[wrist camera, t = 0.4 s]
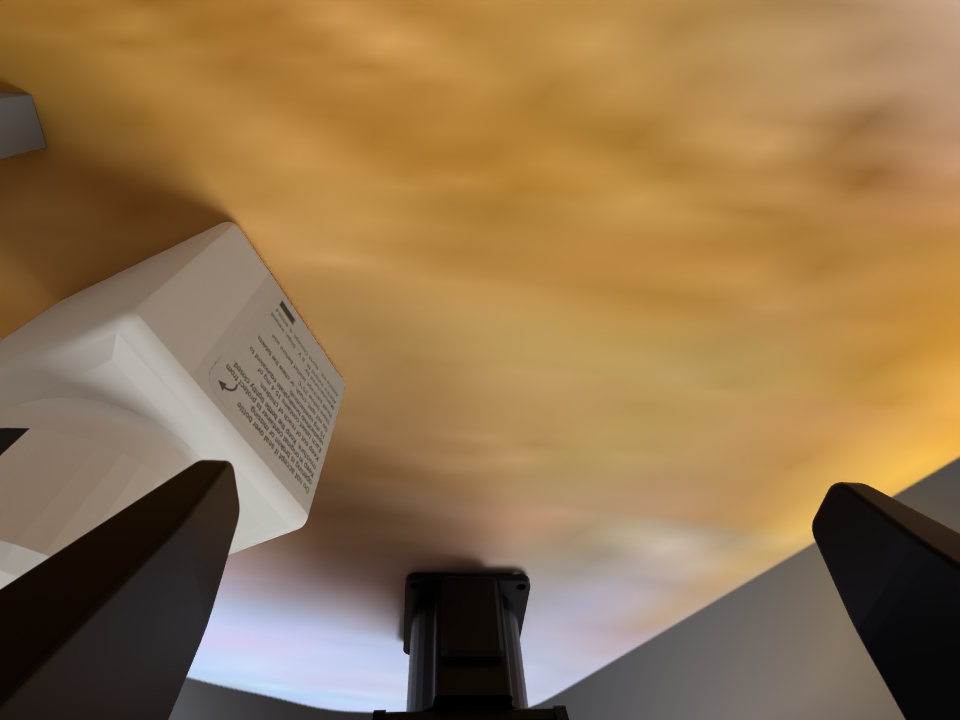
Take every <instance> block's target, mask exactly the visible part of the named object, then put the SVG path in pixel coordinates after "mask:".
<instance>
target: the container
mask: <svg viewBox="0 0 960 720" xmlns="http://www.w3.org/2000/svg"><path fill="white" fill-rule="evenodd" d="M344 391H345V384H344V381H343V380H342V378H341V377H340V375H339V374H338V372H337V371H336V369H335V368H334V366H333V365H332V363H331V362H330V360H329V359H328V357H327V356H326V355H325V353H324V352H323V350H322V349H321V347H320V346H319V344H318V343H317V341H316V340H315V338H314V337H313V335H312V334H311V332H310V331H309V329H308V328H307V326H306V325H305V324H304V322H303V321H302V319H301V318H300V316H299V315H298V313H297V312H296V310H295V309H294V307H293V306H292V304H291V303H290V301H289V300H288V298H287V297H286V295H285V294H284V292H283V291H282V290H281V288H280V287H279V285H278V284H277V282H276V281H275V279H274V278H273V276H272V275H271V273H270V272H269V270H268V269H267V267H266V266H265V264H264V263H263V261H262V260H261V259H260V257H259V256H258V254H257V253H256V251H255V250H254V248H253V247H252V245H251V244H250V242H249V241H248V239H247V238H246V236H245V235H244V233H243V232H242V230H241V229H240V228H239V227H238V226H237V225H236V224H235V223H232V222H224V223H220V224H218V225H216V226H214V227H212V228H210V229H208V230H206V231H204V232H202V233H200V234H198V235H196V236H194V237H192V238H189V239H187V240H185V241H183V242H181V243H179V244H177V245H175V246H173V247H171V248H169V249H167V250H165V251H163V252H161V253H158V254H156V255H154V256H152V257H150V258H148V259H146V260H144V261H142V262H140V263H138V264H136V265H134V266H132V267H130V268H127V269H125V270H123V271H121V272H119V273H117V274H115V275H113V276H111V277H109V278H107V279H105V280H103V281H101V282H98V283H96V284H94V285H92V286H90V287H88V288H86V289H84V290H82V291H80V292H78V293H76V294H74V295H72V296H70V297H67V298H65V299H63V300H61V301H59V302H58V303H56V304H55V305H53V306H52V307H50V308H49V309H47V310H46V311H44V312H43V313H41V314H40V315H38V316H37V317H35V318H34V319H32V320H31V321H29V322H28V323H26V324H25V325H23V326H22V327H20V328H19V329H17V330H16V331H14V332H13V333H11V334H10V335H8V336H7V337H5V338H4V339H2V340H1V341H0V589H1V588H3V587H4V586H6V585H8V584H9V583H11V582H12V581H14V580H15V579H17V578H18V577H20V576H21V575H23V574H24V573H26V572H28V571H29V570H31V569H32V568H34V567H35V566H37V565H38V564H40V563H41V562H43V561H44V560H46V559H48V558H49V557H51V556H52V555H54V554H55V553H57V552H58V551H60V550H61V549H63V548H64V547H66V546H68V545H69V544H71V543H72V542H74V541H75V540H77V539H78V538H80V537H81V536H83V535H84V534H86V533H88V532H89V531H91V530H92V529H94V528H95V527H97V526H98V525H100V524H101V523H103V522H104V521H106V520H108V519H109V518H111V517H112V516H114V515H115V514H117V513H118V512H120V511H121V510H123V509H124V508H126V507H127V506H129V505H131V504H132V503H134V502H135V501H137V500H138V499H140V498H141V497H143V496H144V495H146V494H147V493H149V492H151V491H152V490H154V489H155V488H157V487H158V486H160V485H161V484H163V483H164V482H166V481H167V480H169V479H171V478H172V477H174V476H175V475H177V474H178V473H180V472H181V471H183V470H184V469H186V468H187V467H189V466H191V465H192V464H194V463H195V462H197V461H200V460H226V461H229V462H230V463H232V465H233V468H234V472H235V478H236V485H237V491H238V498H239V505H240V512H239V519H238V523H237V527H236V530H235V534H234V537H233V540H232V544H231V547H230V551H229V554H228V555H230V554H232V553H235V552H238V551H240V550H243V549H246V548H249V547H251V546H254V545H257V544H259V543H262V542H265V541H267V540H270V539H273V538H276V537H278V536H281V535H284V534H286V533H289V532H292V531H295V530H297V529H299V528H301V527H302V526H303V525H304V524H305V523H306V521H307V518H308V515H309V511H310V508H311V504H312V501H313V497H314V494H315V491H316V487H317V484H318V480H319V477H320V473H321V470H322V467H323V463H324V460H325V456H326V453H327V449H328V446H329V442H330V439H331V436H332V432H333V429H334V425H335V422H336V418H337V415H338V412H339V408H340V405H341V401H342V398H343V394H344Z"/></svg>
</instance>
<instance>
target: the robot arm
mask: <svg viewBox="0 0 960 720" xmlns="http://www.w3.org/2000/svg"><path fill="white" fill-rule="evenodd" d="M239 512H240V505H239V498H238V491H237V485H236V478H235V472H234V468H233V465H232V463H230V462H229V461H226V460H200V461H197V462H195V463H194V464H192V465H191V466H189V467H187V468H186V469H184V470H183V471H181V472H180V473H178V474H177V475H175V476H174V477H172V478H171V479H169V480H167V481H166V482H164V483H163V484H161V485H160V486H158V487H157V488H155V489H154V490H152V491H151V492H149V493H147V494H146V495H144V496H143V497H141V498H140V499H138V500H137V501H135V502H134V503H132V504H131V505H129V506H127V507H126V508H124V509H123V510H121V511H120V512H118V513H117V514H115V515H114V516H112V517H111V518H109V519H108V520H106V521H104V522H103V523H101V524H100V525H98V526H97V527H95V528H94V529H92V530H91V531H89V532H88V533H86V534H84V535H83V536H81V537H80V538H78V539H77V540H75V541H74V542H72V543H71V544H69V545H68V546H66V547H64V548H63V549H61V550H60V551H58V552H57V553H55V554H54V555H52V556H51V557H49V558H48V559H46V560H44V561H43V562H41V563H40V564H38V565H37V566H35V567H34V568H32V569H31V570H29V571H28V572H26V573H24V574H23V575H21V576H20V577H18V578H17V579H15V580H14V581H12V582H11V583H9V584H8V585H6V586H4V587H3V588H1V589H0V720H168V719H169V717H170V714H171V712H172V710H173V707H174V705H175V702H176V700H177V698H178V695H179V693H180V690H181V688H182V686H183V683H184V681H185V679H186V676H187V674H188V671H189V669H190V667H191V664H192V662H193V659H194V657H195V655H196V652H197V650H198V647H199V645H200V643H201V640H202V637H203V635H204V632H205V630H206V627H207V624H208V621H209V618H210V615H211V612H212V608H213V605H214V602H215V598H216V595H217V592H218V588H219V585H220V581H221V578H222V574H223V571H224V568H225V564H226V561H227V557H228V554H229V551H230V547H231V544H232V540H233V537H234V534H235V530H236V527H237V523H238V519H239ZM812 531H813V536H814V539H815V541H816V543H817V545H818V547H819V549H820V552H821V554H822V556H823V559H824V561H825V563H826V565H827V568H828V570H829V572H830V574H831V576H832V579H833V581H834V583H835V586H836V588H837V590H838V592H839V594H840V597H841V599H842V601H843V603H844V606H845V608H846V610H847V612H848V615H849V617H850V619H851V621H852V623H853V625H854V627H855V629H856V631H857V633H858V635H859V637H860V639H861V641H862V643H863V644H864V646H865V648H866V650H867V652H868V654H869V655H870V657H871V659H872V661H873V663H874V664H875V666H876V668H877V670H878V672H879V673H880V675H881V677H882V679H883V680H884V682H885V684H886V686H887V688H888V690H889V691H890V693H891V695H892V697H893V698H894V700H895V702H896V704H897V706H898V707H899V709H900V711H901V713H902V715H903V716H904V718H905V720H960V533H958V532H956V531H954V530H952V529H950V528H948V527H946V526H945V525H943V524H941V523H939V522H937V521H935V520H933V519H931V518H929V517H927V516H925V515H924V514H922V513H920V512H918V511H916V510H914V509H912V508H910V507H908V506H906V505H904V504H902V503H901V502H899V501H897V500H895V499H893V498H891V497H889V496H887V495H885V494H883V493H882V492H880V491H878V490H876V489H874V488H872V487H870V486H868V485H866V484H862V483H848V482H839V483H835V484H834V485H832V486H831V487H830V489H829V490H828V492H827V494H826V496H825V498H824V500H823V502H822V504H821V506H820V508H819V510H818V512H817V514H816V515H815V517H814V520H813V524H812ZM529 591H530V581H529V578H528V576H526V575H522V574H454V573H412V574H410V575H408V576H407V577H406V584H405V615H404V648H403V650H404V652H405V653H406V654H408V655H410V659H409V676H408V693H407V710H406V712H386V710H374V712H373V719H372V720H569V718H568V714H567V711H566V707H565V705H553V706H552V707H549V708H528V701H527V693H526V685H525V677H524V669H523V661H522V653H521V645H520V635H521V630H522V625H523V620H524V616H525V611H526V606H527V601H528V596H529Z"/></svg>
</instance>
